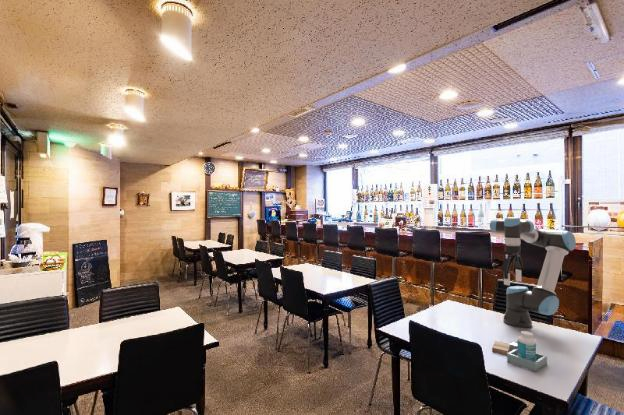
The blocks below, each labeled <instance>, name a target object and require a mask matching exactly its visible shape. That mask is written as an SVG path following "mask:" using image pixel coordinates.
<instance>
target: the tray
mask: <svg viewBox="0 0 624 415" xmlns="http://www.w3.org/2000/svg"><path fill="white" fill-rule="evenodd" d="M506 358H507V359H506V361H507V362H508V363H510V364H512V365H516V366H518V367H521V368H523V369H526V370H528V371H531V372H532V373H533V372H534V373H537V372H539V371H540V370H541V369H543V368H544V367H546V366H547V365H548V356H547V355H545V354H542V353H540V352H536V361H535V362H533V361H530V360H527V359H524V358H522V357H519V356H517V348H516V349H514V350H512V351H509V353H507V355H506Z"/></svg>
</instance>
